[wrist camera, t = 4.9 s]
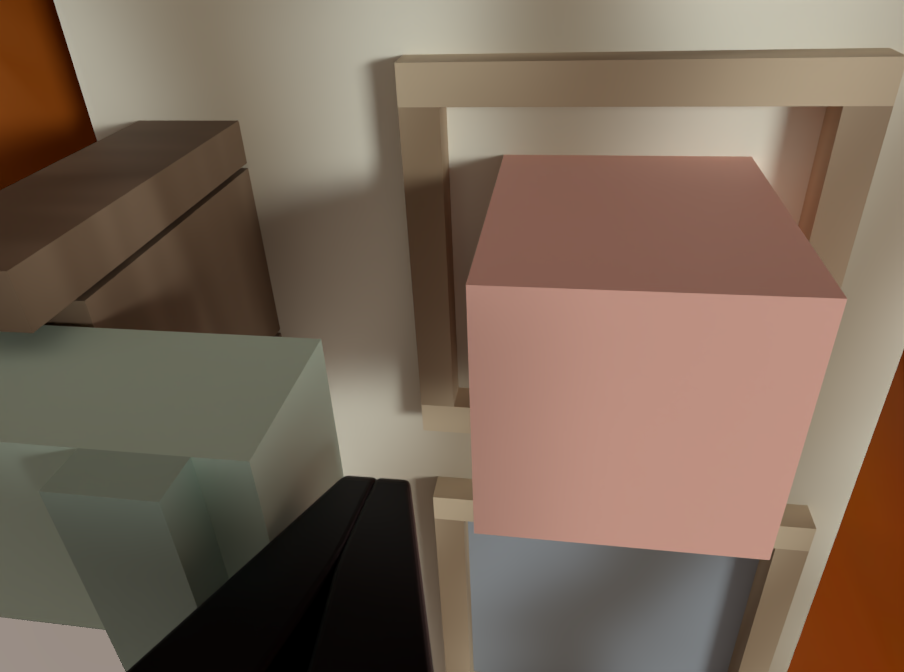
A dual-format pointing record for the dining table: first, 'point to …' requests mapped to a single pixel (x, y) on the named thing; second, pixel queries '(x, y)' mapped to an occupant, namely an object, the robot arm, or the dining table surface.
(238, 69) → the board
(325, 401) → the bar
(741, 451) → the block
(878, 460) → the dining table surface
